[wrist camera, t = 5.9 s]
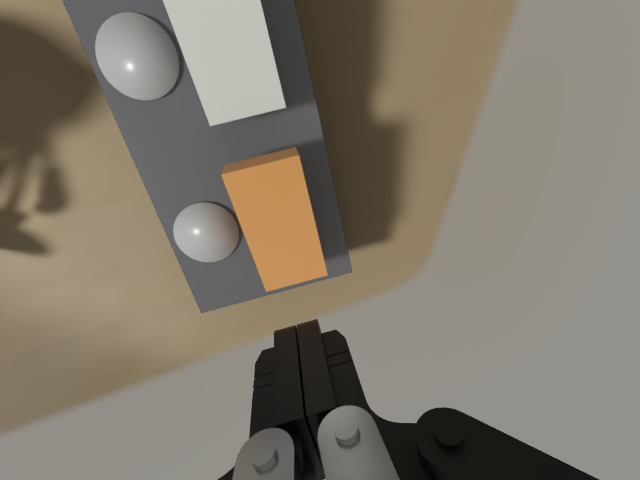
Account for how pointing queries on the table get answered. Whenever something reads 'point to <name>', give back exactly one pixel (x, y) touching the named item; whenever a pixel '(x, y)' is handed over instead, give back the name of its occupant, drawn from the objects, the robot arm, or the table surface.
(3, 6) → the table surface
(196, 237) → the strip
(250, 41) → the block
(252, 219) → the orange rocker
